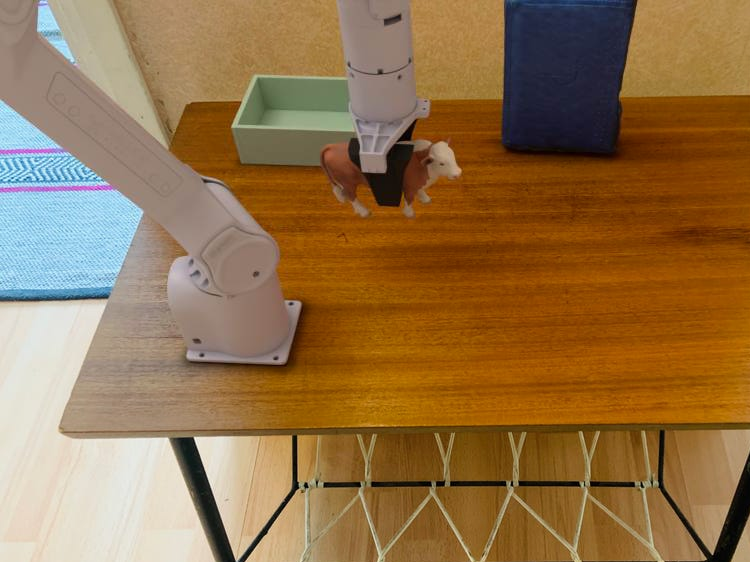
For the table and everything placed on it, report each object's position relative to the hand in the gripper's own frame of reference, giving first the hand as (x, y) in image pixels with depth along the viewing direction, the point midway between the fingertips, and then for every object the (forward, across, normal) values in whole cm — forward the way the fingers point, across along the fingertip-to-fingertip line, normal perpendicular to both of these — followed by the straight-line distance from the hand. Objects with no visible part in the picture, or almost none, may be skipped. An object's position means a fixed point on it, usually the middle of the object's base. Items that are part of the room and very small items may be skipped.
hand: (392, 188), depth 75 cm
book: (+10, +21, -17) cm, 29 cm away
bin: (+9, +21, +13) cm, 26 cm away
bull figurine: (+2, 0, 0) cm, 3 cm away
